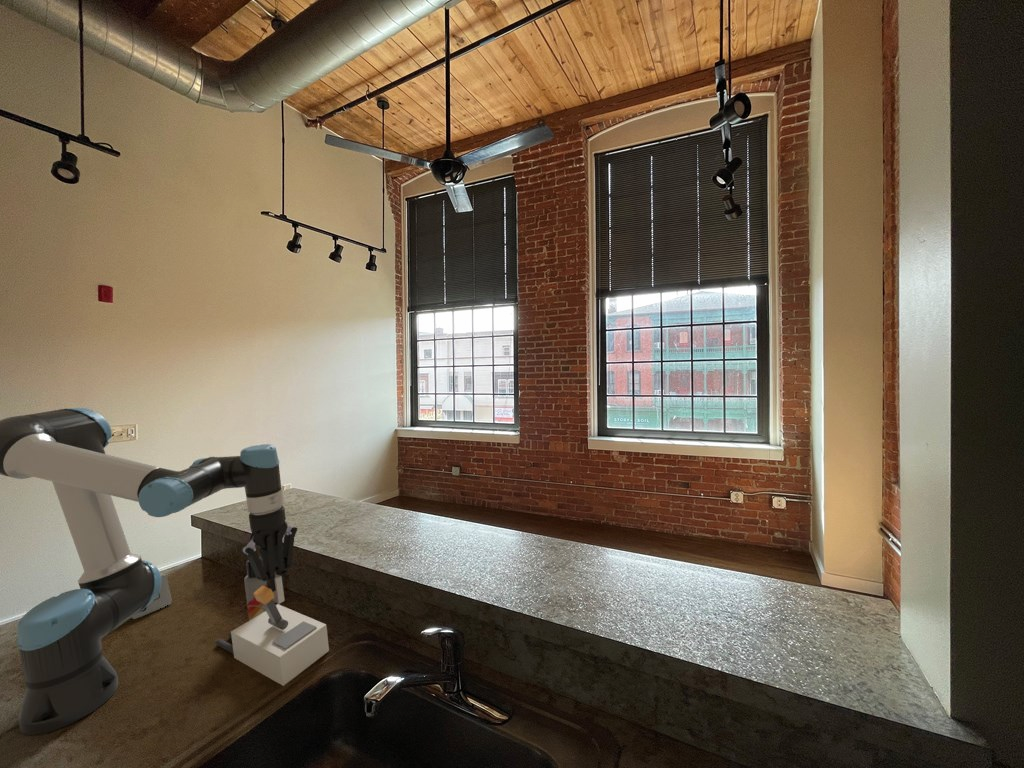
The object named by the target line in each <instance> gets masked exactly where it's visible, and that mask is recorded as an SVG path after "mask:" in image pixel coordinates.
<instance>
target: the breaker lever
mask: <svg viewBox="0 0 1024 768" xmlns="http://www.w3.org/2000/svg"><path fill="white" fill-rule="evenodd" d="M253 594H254V596H255V598H256V600H257V601H259V602H261V603H262V604H263V606H264V608H265V610H266V612H267V614H268V616H269V620H268V623H269V624H271V625H273V626H275V627H277V628H279V629H281V630H284V629H285V628H286V627H287V626H288V621H286V620H284V619H282V617H281V615H280V613H279V611H278V609H277V607H276V605H277V604H275V602H274V601H273V598H274V597H275V596H274V594H273V592H272V590H271V589H270V588H267V587H265V586H261V587H260V588H259V589H258V590H256V591H255V592H254V593H253Z"/></svg>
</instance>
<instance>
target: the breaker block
mask: <svg viewBox="0 0 1024 768" xmlns="http://www.w3.org/2000/svg"><path fill="white" fill-rule="evenodd" d="M275 605H276V607H277V609H278V611H279V613H280V615H281V617H282V619H284V620H286V621H288V626H287V627H286V628H285V629H284V630H281V629H279V628H277V627H275V626H273V625H271V624H269V623H268V620H269V616H268V614H267V612H266V611H265V612H263V613H262V614H260V615H258V616H257V617H255V618H253V619H251V620H250V621H249V620H248V621H247V622H245V623H242V624H241V625H240V626H238V627H236V628H235V629H233V630H231V631H230V632H231V636H232V639H231V642H232V643H231V645H233V652H234V654H233V658H234V659H236V660H237V661H239V662H241V663H243V664H244V665H246V666H248V667H249V668H251V669H253V670H254V671H256V672H258V673H260V674H261V675H263V676H265V677H267V678H269V679H270V680H272V681H274V682H276V683H277V684H278V685H281V686H282V687H284V686H286V684H288V683H289V682H290V681H292V680H294V678H296V677H297V676H299V674H301V673H303V672H304V671H305V670H306V669H308V668H309V667H310V666H311V665H312V664H314V663H315V662H316V661H318V660H320V658H322V657H323V656H324V655H326V654H327V653H328V652H329V651H330V647H329V639H328V638H329V637H328V636H329V635H328V627H327V624H326V623H324V622H321V621H319V620H316V619H314V618H312V617H309V616H308V615H304V614H302V613H300V612H297V611H296V610H293V609H290V608H288V607H286V606H285V605H281V604H278V603H276V604H275Z"/></svg>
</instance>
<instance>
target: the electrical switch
mask: <svg viewBox="0 0 1024 768" xmlns="http://www.w3.org/2000/svg"><path fill="white" fill-rule="evenodd" d="M160 575H161V588H160V591H159V593H158V595H157V597H156V598H155V599H154V600H153V601H152V602H151V603H150V604H149V605H147V606H146V607H145V608H144V609H143V610H142V611H141V612H139V613H138V614H136V615H134V616H133V617H131V619H132V620H137V619H139V618H142V617H144V616H146V615H148V614H151V613H154V612H156V611H158V610H161V609H163V608H166V607H168V606H170V605H172V602H173V601H172V600H173V599H172V595H171V590H170V585H169V581H168V577H167V575H166V574H160ZM167 605H168V606H167ZM165 606H166V607H165ZM160 608H161V609H160Z"/></svg>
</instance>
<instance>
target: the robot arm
mask: <svg viewBox="0 0 1024 768" xmlns="http://www.w3.org/2000/svg"><path fill="white" fill-rule="evenodd" d="M112 431H113V430H112V428H111V426H110V423H109V422H108V420H107V419H106V418H105V417H104V416H103V415H102V414H100V413H98V412H96V411H94V410H93V409H90V408H85V407H73V408H72V407H71V408H68V407H67V408H59V409H54V410H50V411H43V412H38V413H37V412H36V413H30V414H25V415H14V416H9V417H6V418H3V419H0V475H1V476H5V477H10V478H13V479H18V480H23V479H25V480H26V479H29V478H37V479H41V480H45V481H49V482H52V485H53V488H54V491H55V493H56V496H57V499H58V501H59V504H60V507H61V510H62V513H63V516H64V518H65V521H66V525H67V526H68V527H67V528H68V530H69V532H70V535H71V537H72V541H73V544H74V547H75V549H76V552H77V555H78V557H79V561H80V563H81V565H82V569H83V573H82V574H81V576H80V577H79V578H78V580H77V582H78V586H79V588H76V589H71V590H68V591H64V592H61V593H60V594H59V595H57V596H52V597H49V598H47V599H45V600H44V601H42V602H40V603H38V604H36V605H35V606H34V607H32V608H31V609H30V610H28V611H27V612H25V614H23V616H22V617H21V618H20V620H19V621H18V623H17V627H16V634H17V638H16V646H17V647H18V650H19V654H20V660H21V666H22V671H23V676H24V682H25V688H26V689H25V693H24V696H23V700H22V703H21V706H20V711H19V714H18V725H19V731H20V732H21V733H22V734H23V735H28V736H34V735H42V734H47V733H50V732H54V731H57V730H60V729H62V728H64V727H66V726H69V725H71V724H73V723H75V722H77V721H79V720H81V719H83V718H85V717H86V716H88V715H89V714H91V713H93V712H94V711H95V710H97V709H99V708H100V707H101V706H102V705H104V704H105V703H106V702H107V701H108V700H110V698H111V697H112V696H113V695H114V694H115V693H116V691H117V689H118V687H119V677H118V673H117V671H116V669H114V667H113V665H111V663H110V662H109V661H108V660H107V658H106V657H105V656H104V654H103V646H102V639H103V638H104V637H106V636H107V635H109V634H110V633H112V632H113V631H114V630H115V629H117V628H119V626H121V625H123V624H124V623H125V622H127V621H128V620H130V619H132V617H133V616H134V615H136V614H138V613H139V612H141V611H143V610H144V608H145V607H146V606H147V605H149V604H150V603H151V602H152V601H153V600H154V599H155V598H156V597H157V595H158V593H159V591H160V588H161V575H162V574H161V572H160V570H159V569H158V567H157V565H153V563H152V562H150V561H148V560H142V556H141V555H138V554H135V553H132V552H131V550H130V548H129V543H128V542H127V539H126V536H125V532H124V529H123V527H122V523H121V521H120V519H119V518H120V517H119V515H118V512H117V510H116V507H115V504H114V500H113V498H112V496H113V497H116V498H121V499H125V500H129V501H134V502H138V505H139V506H140V508H141V510H142V511H143V512H146V513H147V515H148V516H150V517H154V518H164V517H168V516H170V515H172V514H176V513H178V512H181V511H183V510H185V509H186V508H188V507H190V506H192V505H194V504H196V503H197V502H200V501H201V500H204V499H206V498H208V497H209V496H212V495H214V494H215V493H218V492H220V491H221V490H226V489H239V488H244V491H245V493H244V494H245V497H246V498H245V499H246V505H247V513H249V514H248V520H249V528H250V531H251V535H250V536H249V537H250V539H249V540H250V541H249V542H248V543H247V545H245V546H242V547H241V548H240V551H241V552H242V554H245V555H246V557H247V561H248V560H249V562H250V564H251V566H252V568H253V571H254V573H255V575H256V577H257V579H259V580H262V581H266V582H267V588H270V589H271V590H272V592H273V594H274V596H275V597H274V598H273V601H274V603H276V604H279V605H281V604H282V603H283V602H285V594H284V586H285V585H286V577H285V576H286V574H288V569H290V568H292V565H293V564H292V563H293V555H294V547H295V546H294V545H295V537H296V534H297V531H298V527H295V526H292V525H288V523H287V522H286V521H287V520H286V519H287V518H286V508H285V506H284V497H283V495H284V494H283V489H282V482H281V474H280V473H281V471H280V459H279V457H278V452H277V448H276V446H275V445H274V444H268V443H266V444H265V443H264V444H259V445H251V446H248V447H245V448H243V449H241V450H240V453H239V455H237V456H236V455H234V456H231V455H230V456H209V457H206V458H204V457H203V458H199V459H196V460H194V461H193V463H192V464H191V465H190V466H189V467H188V468H186V469H183V470H177V471H176V470H172V469H167V468H162V467H159V466H155V465H150V464H146V463H142V462H139V461H134V460H131V459H126V458H122V457H117V456H114V455H110V454H106V451H105V448H106V447H107V446H108V445H109V444H110V442H111V440H110V439H112V435H113V433H112ZM257 547H259V552H261V554H260V555H261V556H262V561H263V565H262V563H261V561H260V559H259V556H260V555H258V553H257V552H256V551H257Z"/></svg>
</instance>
